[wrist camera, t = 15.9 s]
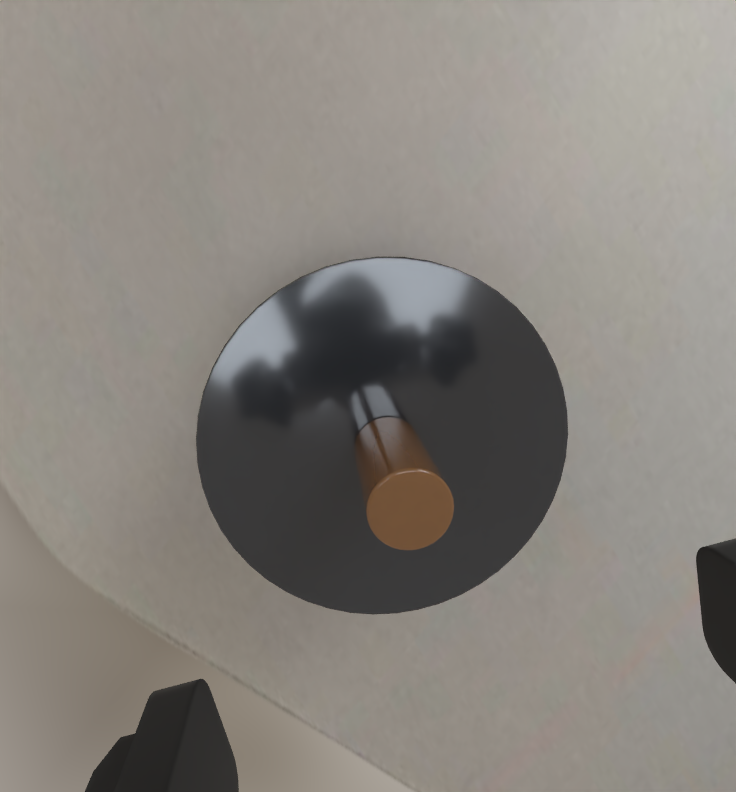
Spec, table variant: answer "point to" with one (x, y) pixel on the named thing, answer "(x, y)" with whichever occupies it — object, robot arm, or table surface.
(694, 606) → the table surface
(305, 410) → the lid
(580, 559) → the table surface
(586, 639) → the table surface
